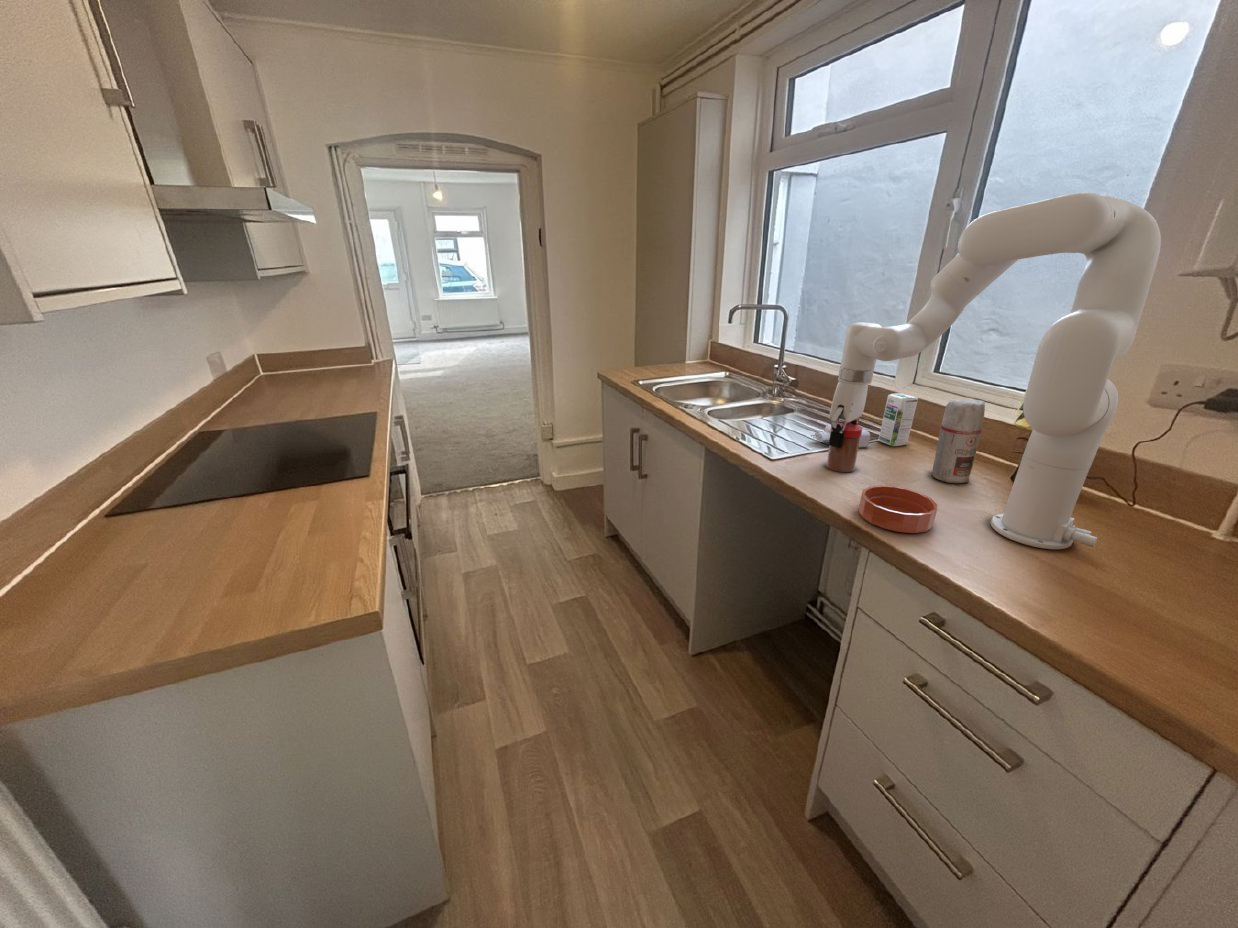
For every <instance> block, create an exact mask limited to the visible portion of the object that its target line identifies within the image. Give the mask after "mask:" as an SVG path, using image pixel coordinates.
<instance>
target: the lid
mask: <svg viewBox="0 0 1238 928" xmlns="http://www.w3.org/2000/svg"><path fill="white" fill-rule="evenodd" d="M838 424H840V426H842V423H838ZM862 428H863V426H861V425H860V424H858V425H856V424H851V423H847V424H846V427H845V429H844V432H843V433H845V434H844V437H845V438H856V437H860V436H861V434H862ZM830 433H831V431H830Z"/></svg>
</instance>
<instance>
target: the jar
mask: <svg viewBox="0 0 1238 928" xmlns="http://www.w3.org/2000/svg"><path fill="white" fill-rule="evenodd" d="M859 440H860V437H856V438H845V437H844V439H843V444H842V447H841V448H837V447H833V446H830V445H829V444H828V452H827V459H826V460H827V461H826V467H827V469H829V470H831V471H834V472H840V473H850V472H854V471H855V469H856V464H857V458H858V451H859V447H858V446H859Z"/></svg>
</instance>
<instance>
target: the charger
mask: <svg viewBox="0 0 1238 928" xmlns="http://www.w3.org/2000/svg"><path fill="white" fill-rule="evenodd" d="M831 425H832V424H829V425H828V424H827V425H825V427H824V430H823V431H816V432H815V433H814V434H810V437H812V439H816V440H817V441H818V442H819V443H821V442H824V443H826V442H827V443H828V444H829V440H830V434H831V433H830V431H831ZM870 440H871V432H869V431H868V430H866V429H865V428H864V427H862V434H861V436H860V440H859V446H858V448H868V447H869V444H870Z"/></svg>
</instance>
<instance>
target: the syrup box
mask: <svg viewBox="0 0 1238 928" xmlns="http://www.w3.org/2000/svg"><path fill="white" fill-rule="evenodd" d="M918 401H919V397H916V396H912V395H909V394H905V393H900V392H897V393H896V392H895V393H891V394H887V399H886V402H885V403H886V404H885V408H884V413H883V418H882V422H881V427H880V431H879V435H878V442H880V443H883V444H886V445H888V446H890V447H900V446H906V445H908V443H909V438H910V434H911V430H912V426H913V422H914V419H915V413H916V410H917V405H918Z"/></svg>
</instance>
